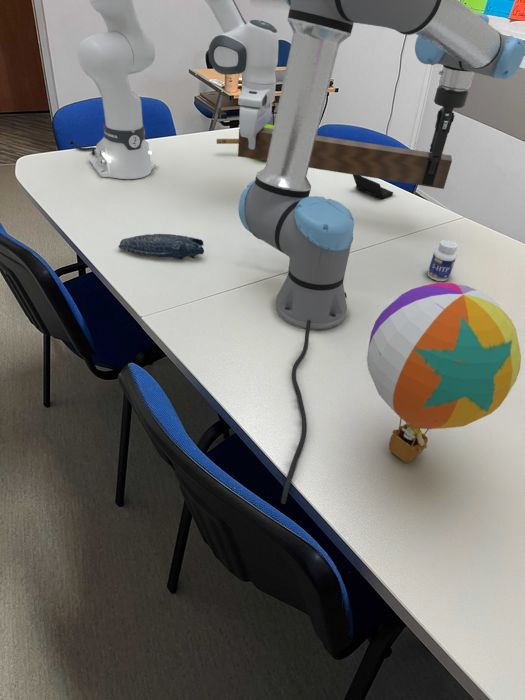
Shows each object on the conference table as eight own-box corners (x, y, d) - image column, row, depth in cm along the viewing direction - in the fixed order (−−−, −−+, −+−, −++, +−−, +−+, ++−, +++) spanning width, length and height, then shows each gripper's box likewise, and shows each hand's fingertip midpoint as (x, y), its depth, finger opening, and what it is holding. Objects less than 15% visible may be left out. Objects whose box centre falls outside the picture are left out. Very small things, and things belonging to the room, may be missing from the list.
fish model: (201, 265, 124) (201, 246, 121) (115, 255, 125) (113, 236, 122) (206, 252, 129) (206, 234, 126) (124, 243, 130) (122, 224, 127)
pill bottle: (425, 278, 127) (436, 245, 122) (428, 268, 131) (438, 236, 126) (447, 283, 126) (459, 250, 120) (449, 273, 130) (460, 241, 124)
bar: (443, 183, 143) (451, 155, 138) (443, 189, 139) (452, 160, 135) (242, 151, 152) (243, 124, 147) (237, 156, 148) (239, 128, 144)
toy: (317, 443, 83) (351, 282, 64) (393, 393, 94) (441, 242, 75) (417, 530, 72) (494, 366, 53) (490, 462, 83) (575, 305, 64)
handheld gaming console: (396, 188, 169) (390, 167, 160) (387, 206, 167) (380, 186, 159) (365, 182, 175) (357, 162, 166) (355, 200, 174) (347, 180, 165)
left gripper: (257, 83, 147) (254, 133, 156) (236, 99, 132) (233, 154, 140) (279, 86, 146) (274, 137, 155) (260, 102, 131) (256, 158, 139)
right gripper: (437, 78, 134) (414, 168, 149) (437, 93, 121) (412, 190, 135) (467, 82, 133) (441, 172, 148) (471, 97, 119) (441, 195, 134)
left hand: (255, 145), depth 148 cm, fingers closed on bar, 5 cm apart
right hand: (427, 180), depth 141 cm, fingers closed on bar, 5 cm apart
